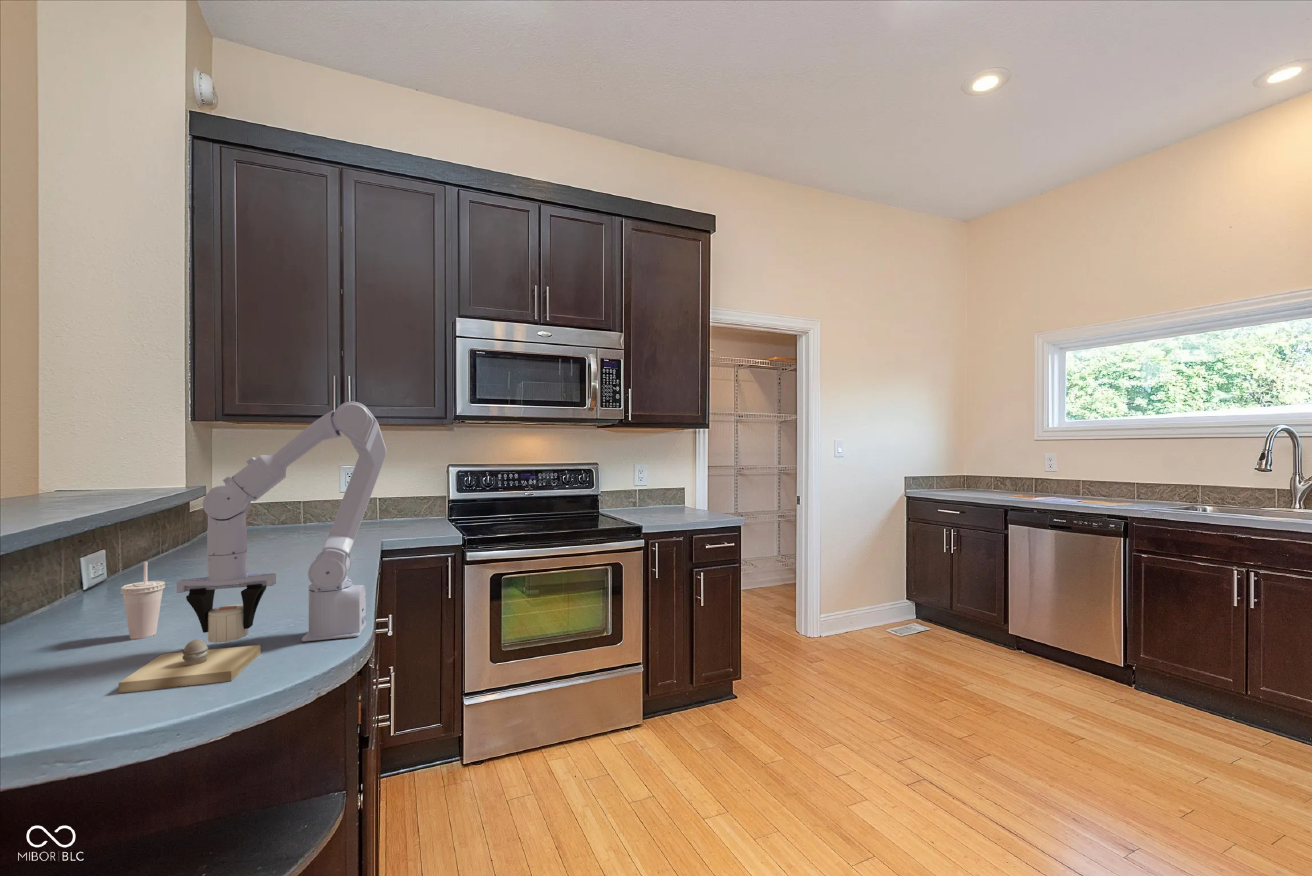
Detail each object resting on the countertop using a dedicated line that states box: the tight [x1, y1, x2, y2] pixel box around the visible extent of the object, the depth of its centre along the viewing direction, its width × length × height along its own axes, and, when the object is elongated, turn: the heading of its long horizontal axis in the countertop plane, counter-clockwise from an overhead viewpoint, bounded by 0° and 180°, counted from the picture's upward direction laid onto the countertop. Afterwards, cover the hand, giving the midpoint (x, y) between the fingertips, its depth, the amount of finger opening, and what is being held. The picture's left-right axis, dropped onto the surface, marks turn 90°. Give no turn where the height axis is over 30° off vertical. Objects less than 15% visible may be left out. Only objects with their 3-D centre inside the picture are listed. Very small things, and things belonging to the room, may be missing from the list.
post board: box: [118, 639, 262, 694], centre depth 92 cm, size 14×12×5 cm
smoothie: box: [119, 561, 166, 640], centre depth 109 cm, size 6×6×14 cm
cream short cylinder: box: [207, 604, 249, 644], centre depth 103 cm, size 6×6×5 cm
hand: (228, 629), depth 103 cm, fingers closed on cream short cylinder, 6 cm apart
